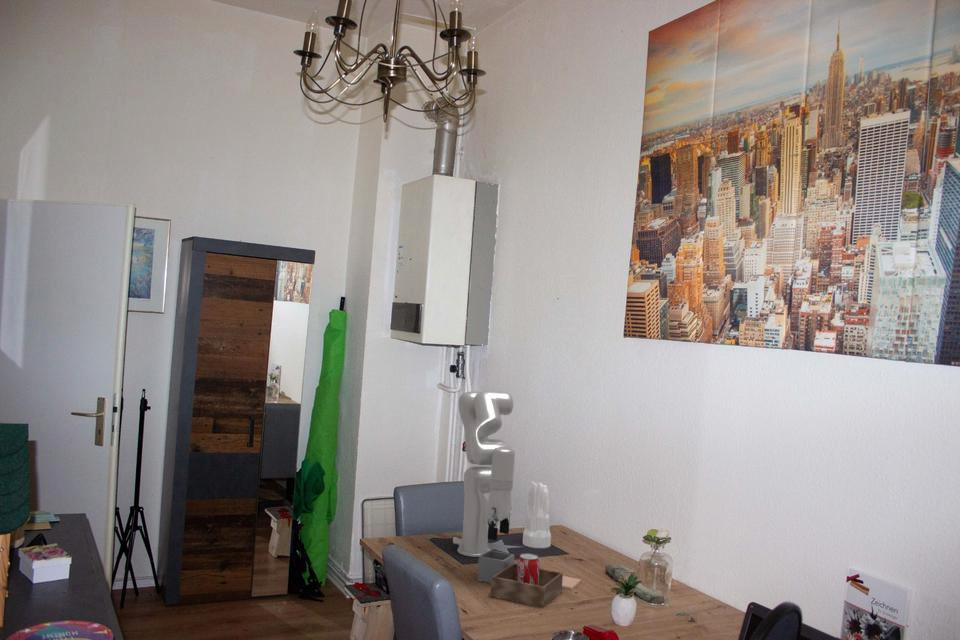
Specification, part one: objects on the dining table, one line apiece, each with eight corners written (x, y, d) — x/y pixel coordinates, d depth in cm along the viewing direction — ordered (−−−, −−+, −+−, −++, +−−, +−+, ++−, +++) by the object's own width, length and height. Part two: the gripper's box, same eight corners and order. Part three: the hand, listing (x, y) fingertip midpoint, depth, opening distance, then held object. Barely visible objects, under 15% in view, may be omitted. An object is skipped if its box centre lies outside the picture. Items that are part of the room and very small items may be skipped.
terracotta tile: (542, 584, 265) (543, 581, 265) (553, 576, 274) (553, 573, 274) (571, 590, 261) (572, 587, 261) (581, 581, 270) (581, 579, 270)
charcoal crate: (477, 580, 264) (478, 556, 265) (488, 573, 273) (489, 550, 273) (502, 585, 261) (503, 561, 261) (512, 578, 269) (514, 554, 269)
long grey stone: (643, 609, 251) (671, 609, 254) (645, 593, 251) (673, 593, 254) (597, 568, 285) (622, 569, 288) (599, 554, 285) (624, 555, 288)
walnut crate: (490, 596, 250) (491, 576, 250) (511, 581, 266) (513, 563, 266) (543, 607, 243) (544, 587, 243) (561, 591, 259) (562, 573, 259)
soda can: (536, 599, 250) (538, 560, 250) (514, 596, 252) (516, 557, 252) (539, 591, 257) (541, 554, 257) (517, 589, 259) (519, 551, 259)
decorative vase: (532, 539, 320) (536, 476, 320) (555, 544, 314) (559, 480, 314) (517, 544, 312) (521, 479, 312) (540, 550, 305) (544, 484, 305)
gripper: (501, 479, 276) (498, 529, 276) (480, 487, 260) (477, 540, 260) (521, 482, 273) (518, 532, 273) (501, 490, 257) (498, 544, 257)
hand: (498, 536), depth 267 cm, fingers open, 9 cm apart
